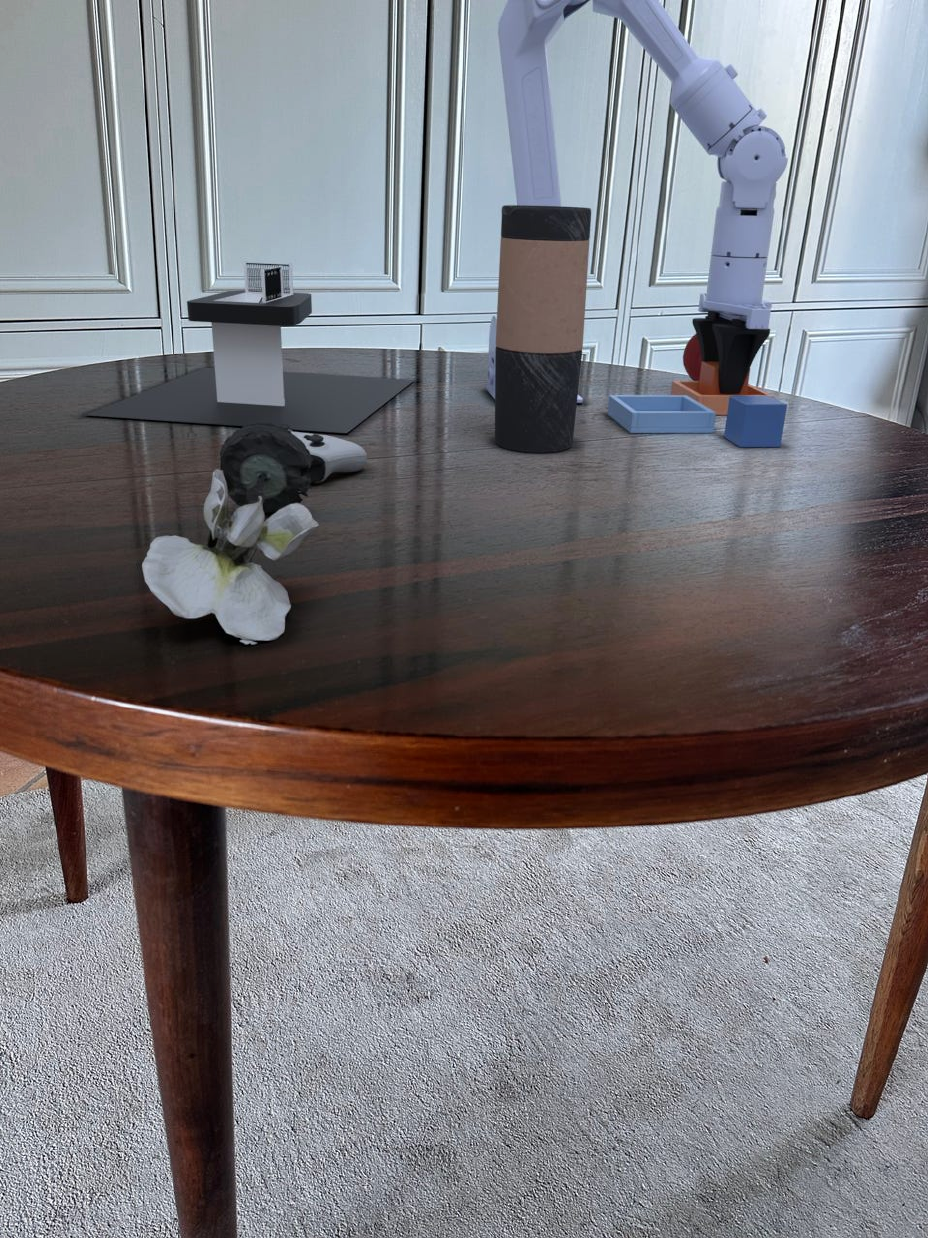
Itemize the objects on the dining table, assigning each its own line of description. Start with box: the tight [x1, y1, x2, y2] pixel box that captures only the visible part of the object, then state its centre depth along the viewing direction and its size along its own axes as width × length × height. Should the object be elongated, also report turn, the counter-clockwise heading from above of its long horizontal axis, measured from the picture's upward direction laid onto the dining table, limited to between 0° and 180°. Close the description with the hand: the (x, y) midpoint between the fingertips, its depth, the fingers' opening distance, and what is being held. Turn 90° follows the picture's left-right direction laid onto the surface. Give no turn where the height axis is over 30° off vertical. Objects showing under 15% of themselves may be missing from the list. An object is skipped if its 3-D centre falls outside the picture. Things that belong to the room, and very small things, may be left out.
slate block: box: [723, 396, 788, 448], centre depth 93 cm, size 4×4×4 cm
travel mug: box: [494, 204, 592, 454], centre depth 86 cm, size 8×8×20 cm
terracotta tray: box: [670, 380, 775, 416], centre depth 108 cm, size 8×8×2 cm
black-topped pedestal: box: [85, 260, 415, 434], centre depth 103 cm, size 28×26×13 cm
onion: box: [682, 333, 702, 381], centre depth 116 cm, size 6×6×8 cm
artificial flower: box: [141, 423, 319, 645], centre depth 58 cm, size 9×22×10 cm, turn 179°
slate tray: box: [606, 394, 717, 434], centre depth 99 cm, size 8×8×2 cm
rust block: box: [698, 362, 751, 395], centre depth 107 cm, size 4×4×4 cm
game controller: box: [278, 424, 368, 484], centre depth 79 cm, size 10×5×6 cm
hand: (722, 389), depth 107 cm, fingers closed on rust block, 4 cm apart
